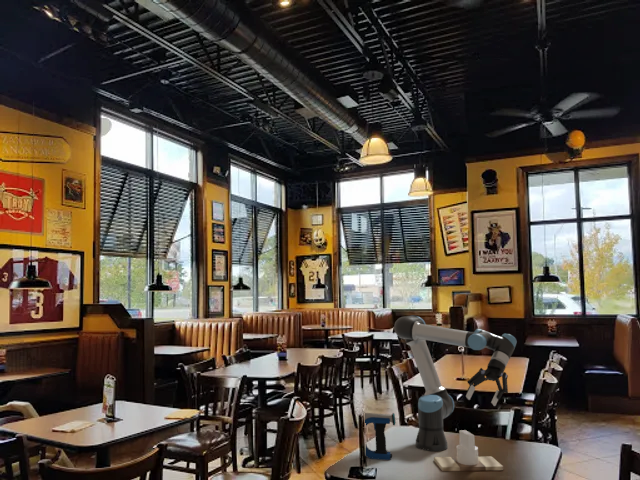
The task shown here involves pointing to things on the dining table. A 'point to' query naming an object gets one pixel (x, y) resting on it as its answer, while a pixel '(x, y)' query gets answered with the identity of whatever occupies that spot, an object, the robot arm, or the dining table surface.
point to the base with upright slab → (467, 449)
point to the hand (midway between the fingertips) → (480, 401)
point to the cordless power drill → (379, 434)
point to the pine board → (453, 465)
